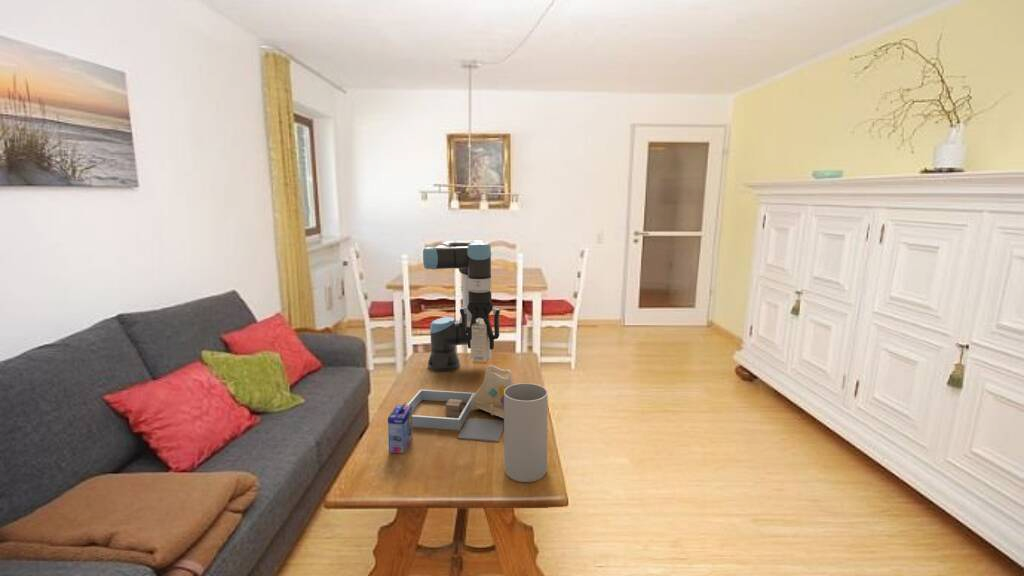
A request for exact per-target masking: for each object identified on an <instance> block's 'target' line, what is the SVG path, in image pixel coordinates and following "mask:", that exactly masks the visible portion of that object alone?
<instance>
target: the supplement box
mask: <svg viewBox="0 0 1024 576" xmlns="http://www.w3.org/2000/svg"><path fill="white" fill-rule="evenodd" d="M488 339H489V336H488V333H487V324H485V322H484V320H476V322H475V323H474V324H473V325H472V359H471V360H472V364H473V365H474V364H475V365H476V364H477V365H478V364H479V365H486V364H488V363H487V362H488V361H489V360H487V340H488Z"/></svg>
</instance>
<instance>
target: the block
mask: <svg viewBox="0 0 1024 576" xmlns="http://www.w3.org/2000/svg"><path fill="white" fill-rule="evenodd" d="M463 409H464V408H463V402H462V400H456V399H449V401H446V403H445V418H459V416H460V415H461V413H462V411H463Z"/></svg>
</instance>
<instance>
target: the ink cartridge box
mask: <svg viewBox="0 0 1024 576" xmlns="http://www.w3.org/2000/svg"><path fill="white" fill-rule="evenodd" d="M412 415H413V411H412V406H410V405H407V402H404V404H397V405H395V407H394V408H393V410H392V412H391V413H390V414H389V415H388V417H387V433H388V434H387V435H388V453H393V454H394V453H395V454H405V453H406V451H407V450H408V447H409V446H410V444H411V442H412V440H413V427H412Z"/></svg>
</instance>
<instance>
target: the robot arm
mask: <svg viewBox="0 0 1024 576" xmlns="http://www.w3.org/2000/svg"><path fill="white" fill-rule="evenodd" d="M491 248H492V247H491V244H490V243H488V242H486V241H484V240H478V239H477V240H476V239H474V240H473V239H471V240H447V241H446V240H445V241H442V242H439V243H437V244H434V245H433V246H429V247H428V246H427V247H424V248H423V250H422V261H423V262H422V263H423V265H422V266H423V268H424V269H425V270H445V269H448V270H451V269H452V270H453V269H458V272H459V273H460V274H461V275H462V307H461V308H460V309H459V313H460V317H459V320H456V319H455V317H452V316H448V317H447V316H446V317H445V316H444V317H440V318H437V319H434V320H432V322H431V323H430V324H429V325H430V328H429V329H430V331H429V333H430V353H429V357H428V358H429V359H428V361H427V368H428V369H429V370H431V371H433V372H438V373H440V372H441V373H445V372H451V371H455V370H457V369H459V368H460V366H461V365H460V364H461V363H460V359H459V356H458V353H457V350H456V349H457V347H456V346H467V349H470V360H473V359H472V325H473V324H474V323H475V322H476V320H484V322H485V324H487V333H488V336H489V339H488V340H487V360H488V361H490V360H491V358H492V350H494V348H495V340H498V339H499V337H500V314H501V311H502V310H501V308H496V307H494V306H493V303H492V291H491V290H492V273H491V272H492V252H491V251H492V249H491ZM491 312H492V315H494V316H493V327H494V329H493V328H492V324H491V319H490V316H489V315H490V314H491ZM493 330H494V331H493Z"/></svg>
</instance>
